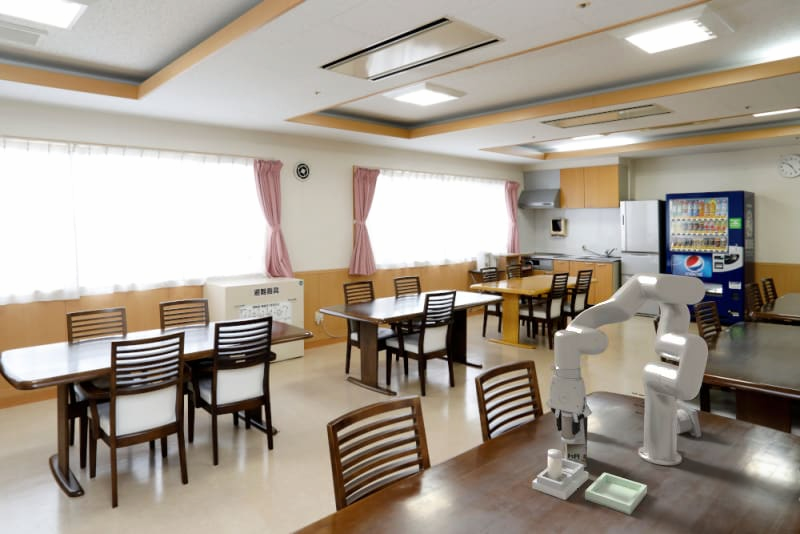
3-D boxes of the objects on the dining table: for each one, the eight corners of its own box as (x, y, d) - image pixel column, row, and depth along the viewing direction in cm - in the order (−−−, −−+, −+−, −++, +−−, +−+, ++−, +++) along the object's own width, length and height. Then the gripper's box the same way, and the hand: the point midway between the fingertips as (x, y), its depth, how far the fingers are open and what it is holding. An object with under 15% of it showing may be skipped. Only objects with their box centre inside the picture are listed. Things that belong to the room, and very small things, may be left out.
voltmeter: (707, 433, 185) (708, 407, 185) (694, 442, 178) (695, 414, 177) (635, 413, 206) (635, 389, 205) (621, 420, 199) (621, 395, 198)
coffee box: (587, 467, 160) (588, 417, 159) (566, 466, 162) (566, 416, 161) (583, 455, 169) (583, 407, 168) (562, 453, 171) (563, 406, 169)
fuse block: (556, 468, 160) (557, 434, 159) (588, 478, 154) (588, 443, 153) (532, 488, 148) (532, 451, 148) (565, 500, 142) (565, 461, 141)
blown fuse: (564, 436, 156) (564, 407, 155) (577, 439, 153) (577, 410, 153) (559, 440, 153) (558, 411, 152) (571, 444, 150) (571, 414, 150)
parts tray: (604, 480, 152) (604, 472, 152) (646, 493, 144) (646, 485, 144) (585, 499, 142) (585, 490, 142) (629, 515, 134) (630, 505, 134)
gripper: (535, 370, 154) (536, 428, 156) (590, 380, 143) (590, 443, 145) (547, 364, 160) (547, 421, 161) (600, 373, 149) (600, 434, 150)
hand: (568, 430), depth 153 cm, fingers closed on blown fuse, 4 cm apart
